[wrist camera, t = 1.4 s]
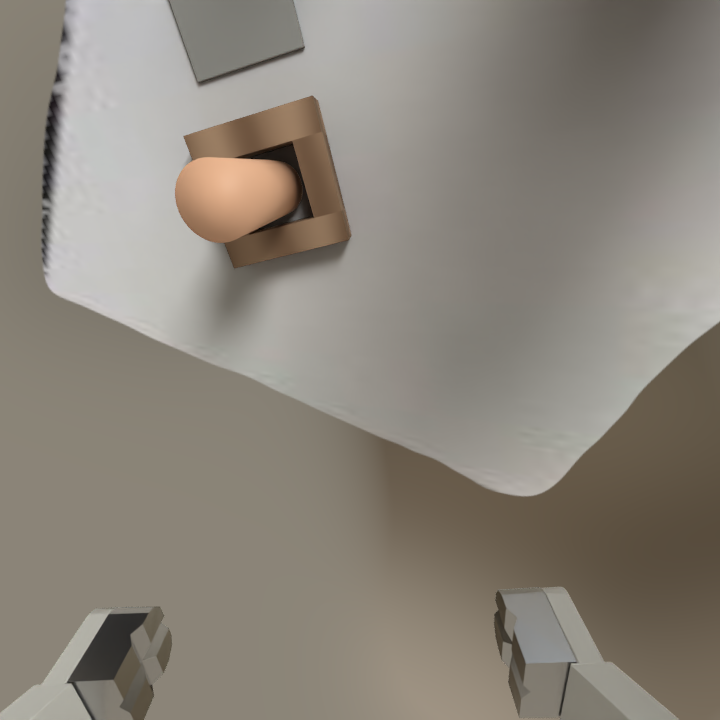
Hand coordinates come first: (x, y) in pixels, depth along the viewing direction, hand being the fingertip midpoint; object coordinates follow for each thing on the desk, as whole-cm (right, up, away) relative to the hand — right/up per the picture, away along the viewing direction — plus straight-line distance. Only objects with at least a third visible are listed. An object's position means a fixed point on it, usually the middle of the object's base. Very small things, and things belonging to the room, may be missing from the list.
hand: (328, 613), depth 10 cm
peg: (-7, +23, +30) cm, 38 cm away
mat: (-10, +36, +23) cm, 44 cm away
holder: (-7, +23, +30) cm, 38 cm away
